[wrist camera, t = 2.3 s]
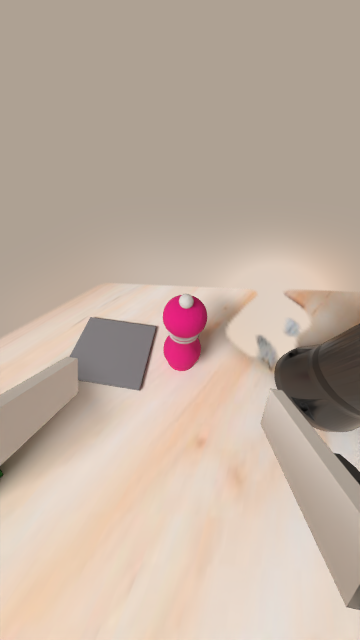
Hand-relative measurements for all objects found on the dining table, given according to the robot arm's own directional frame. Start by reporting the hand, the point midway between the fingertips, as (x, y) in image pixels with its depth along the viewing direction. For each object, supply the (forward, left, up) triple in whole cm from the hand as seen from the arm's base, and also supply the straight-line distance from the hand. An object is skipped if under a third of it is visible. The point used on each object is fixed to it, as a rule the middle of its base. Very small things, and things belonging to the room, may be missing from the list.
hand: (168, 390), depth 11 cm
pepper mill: (0, -11, -23) cm, 25 cm away
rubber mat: (+15, -10, -23) cm, 29 cm away
